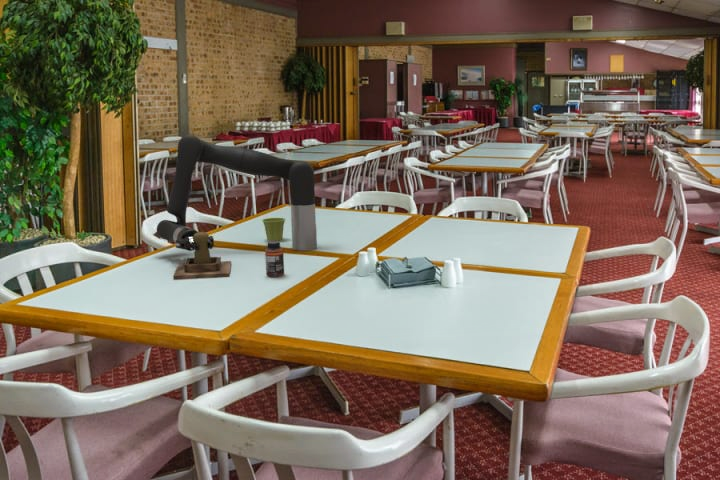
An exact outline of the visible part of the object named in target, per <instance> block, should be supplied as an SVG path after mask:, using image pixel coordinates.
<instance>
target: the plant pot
mask: <svg viewBox="0 0 720 480" xmlns="http://www.w3.org/2000/svg"><path fill="white" fill-rule="evenodd" d="M261 221H262V223H263V225H264V230H265V235H266V240H267V242H269V241H279V242H281V241H283V236H284V225H285V221H286V218H284V217H270V218H269V217H267V218H263V219H262V220H261Z"/></svg>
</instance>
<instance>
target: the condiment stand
mask: <svg viewBox="0 0 720 480" xmlns="http://www.w3.org/2000/svg"><path fill="white" fill-rule="evenodd" d="M210 258H211V263H212V264H194V257H189V258H186V260H185V262H181V263H178V264H177V267H176V269H175V271H174V274H173V275H172V277H173V280H190V279H191V280H192V279H209V278H210V279H212V278H214V279H215V278H230V275H231V268H232V260H225V261H224V260H223V261H222V258H221V256H210Z"/></svg>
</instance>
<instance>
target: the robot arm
mask: <svg viewBox="0 0 720 480" xmlns="http://www.w3.org/2000/svg"><path fill="white" fill-rule="evenodd" d="M176 157H177V159H176V167H175V172H174V178H173V182H172V186H171V190H170V194H169V198H168V202H167V207H166V212H167V213H168V214H170V215H172V216H175V218H176V221H172V220H168V219H163V220H160V221H159V223H157V226H156V234H157V236H158V237H159V238H160V239H161V240H166V241H170V242H172V243H174V244H175V248H176V249H181V250H186V251H188V252H191V251H195V250H196V251H199V244H197V243H195V242H194V239H193V236H194V234H195V233H198V232H199V231H198V230H196V229H194V228H191V227H188V226H187V222H186V221H187V220H186V218H187V210H188V206H189V205H188V204H189V201H190V195H191V189H192V187H191V186H192V179H193V173H194V169H195V166H196V164H197V163H203V164H211V165H216V166H220V167H221V168H225V169H228V170H230V171H235V172H239V173H241V174H247V175H253V176H261V177H263V176H264V177H277V178H281V179H284V180H287V181H289V198H290V217H291V219H290V221H291V242H292V243H291V246H292V247H291V248H292V250H294V251H312V250H317V249H318V240H317V239H318V238H317V236H318V235H317V224H316V223H317V221H316V220H317V219H316V192H315V169H314V167H313V165H311V163H309V162H307V161H306V160H297V159H289V158H288V159H287V158H282V157H278V156H274V155H272V154H269V153H265V152H261V151H258V150H256V149H251V148H246V147H241V146H232V145H231V146H227V145H219V144H215V143H212V142H211V143H210V142H208V141H205V140H202V139H200V138H199V137H198V136H196V135H193V134H186V135H184V136H182V137H181V138H180V139H179V141H178V142H177V155H176ZM214 243H215V242H214V236H213V235H209V240H208V248H209V250H212V249H213V248H214V247H215V245H214Z"/></svg>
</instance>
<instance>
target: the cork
mask: <svg viewBox="0 0 720 480" xmlns="http://www.w3.org/2000/svg"><path fill="white" fill-rule="evenodd" d="M209 236H210V235H209V233H208V232H205V231H198V233H195V234H194V236H193V239H194V242H195V243H197V244H199V251H196V250H194V254H193V258H194V264H212V263H211V258H210V257H211V254H210V249H209V248H208V240H209Z"/></svg>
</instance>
